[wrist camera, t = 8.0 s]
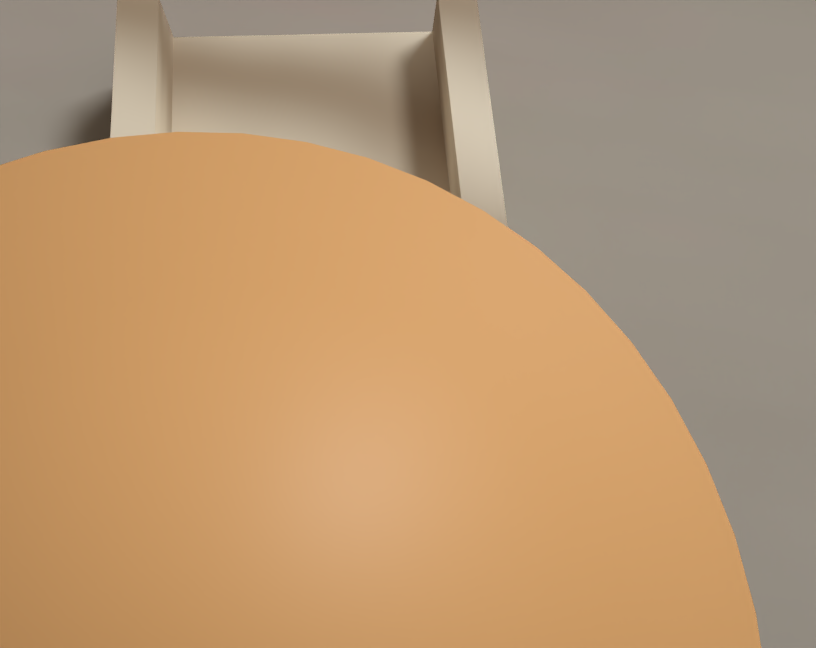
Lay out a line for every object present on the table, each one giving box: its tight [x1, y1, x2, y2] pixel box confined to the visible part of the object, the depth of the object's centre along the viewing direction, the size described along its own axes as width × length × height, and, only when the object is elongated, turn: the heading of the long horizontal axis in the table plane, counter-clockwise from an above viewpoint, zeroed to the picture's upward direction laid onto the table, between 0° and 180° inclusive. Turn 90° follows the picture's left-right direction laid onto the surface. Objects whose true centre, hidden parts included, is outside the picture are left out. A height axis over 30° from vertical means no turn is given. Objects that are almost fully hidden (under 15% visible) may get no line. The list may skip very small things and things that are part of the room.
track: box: [110, 0, 508, 227], centre depth 15 cm, size 20×9×3 cm, turn 5°
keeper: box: [0, 132, 761, 648], centre depth 8 cm, size 6×6×12 cm
